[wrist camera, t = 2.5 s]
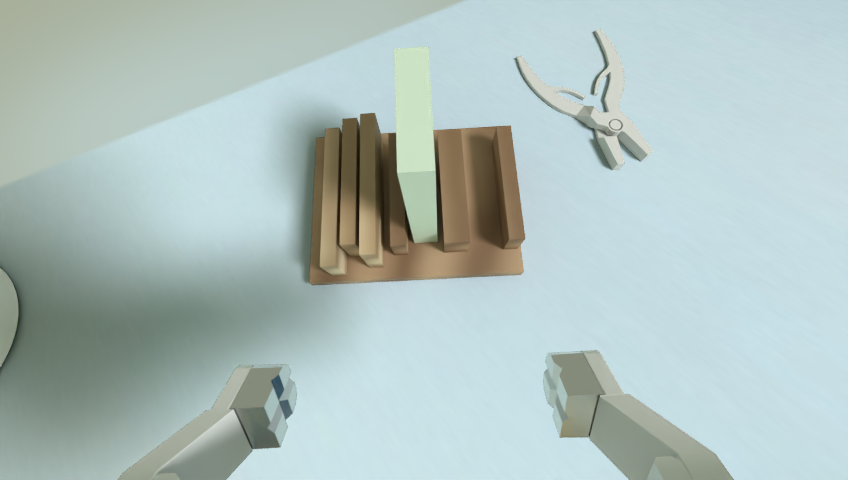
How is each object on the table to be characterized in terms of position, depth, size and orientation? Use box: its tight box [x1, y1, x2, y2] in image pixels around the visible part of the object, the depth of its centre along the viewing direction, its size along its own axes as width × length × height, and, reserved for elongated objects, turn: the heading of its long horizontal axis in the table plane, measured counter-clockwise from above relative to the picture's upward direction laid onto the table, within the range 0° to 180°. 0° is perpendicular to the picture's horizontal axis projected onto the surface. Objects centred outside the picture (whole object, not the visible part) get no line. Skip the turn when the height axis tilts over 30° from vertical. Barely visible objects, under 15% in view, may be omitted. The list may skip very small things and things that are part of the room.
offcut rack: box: [309, 113, 525, 285], centre depth 31 cm, size 18×14×6 cm
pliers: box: [517, 29, 653, 170], centre depth 36 cm, size 10×2×15 cm
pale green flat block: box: [394, 47, 438, 243], centre depth 26 cm, size 2×8×13 cm, turn 2°
